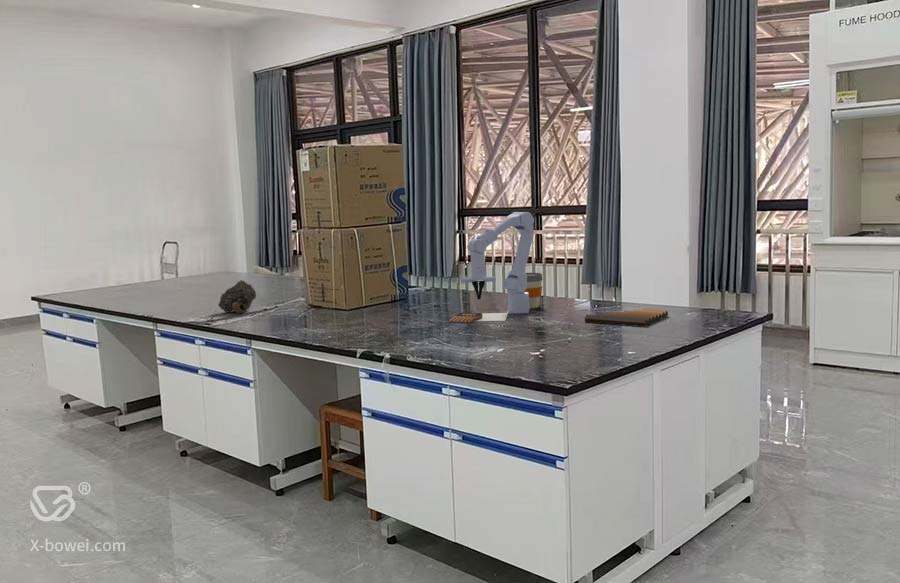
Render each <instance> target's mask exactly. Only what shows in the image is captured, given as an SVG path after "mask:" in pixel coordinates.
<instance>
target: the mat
mask: <svg viewBox="0 0 900 583" xmlns="http://www.w3.org/2000/svg"><path fill="white" fill-rule="evenodd" d="M481 313H482V318H481V319H479V320H475V321H474V322H476V323H477V322H505V321H506V319H507V318H508V315H509V314H508V313H507V312H493V313H492V312H490V313H489V312H485V313H483V312H481Z"/></svg>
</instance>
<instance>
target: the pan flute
mask: <svg viewBox="0 0 900 583" xmlns="http://www.w3.org/2000/svg"><path fill="white" fill-rule="evenodd" d="M666 316H668V317H669V312H668V310H667V309H651V308H649V309H648V308H642V309H633V310H624V311H614V312H605V313H595V314H586V315H585V317H584V322H585V323H592V322H601V323H600V324H604V323H613V324H612V325H617V324H625V325H624V326H629V325H638V326H637V327H642V326H646V325H648V324H650V325H652V324H654V323H656V322H655V321H657V320H658V321H660V320H659V319H661V318H663V319H665V318H664V317H666ZM666 318H667V317H666ZM661 320H662V319H661ZM658 321H657V322H658ZM653 322H654V323H653ZM651 323H652V324H651ZM648 326H649V325H648ZM646 327H647V326H646Z"/></svg>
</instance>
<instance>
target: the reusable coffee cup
mask: <svg viewBox="0 0 900 583" xmlns="http://www.w3.org/2000/svg"><path fill="white" fill-rule="evenodd" d="M525 274H526V275H527V288H526V290H525V292H528V293H529V305H530V309H536V308H539V307H540V301H541V297H542V291H543V285H542V284H543V282H542V281H543V274H542V273H541V272H525ZM517 278H518V277H517Z"/></svg>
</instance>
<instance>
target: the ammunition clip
mask: <svg viewBox="0 0 900 583" xmlns="http://www.w3.org/2000/svg"><path fill="white" fill-rule="evenodd" d="M482 313H483V312H481V313H480V312H459V313H457V314H456V315H454V316H453V317H452V318H450V319H449V320H448V322H449V323H472V322H475V320H479V319H481V318H482Z"/></svg>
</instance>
